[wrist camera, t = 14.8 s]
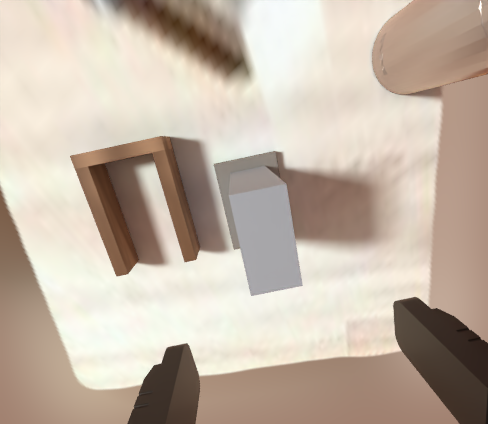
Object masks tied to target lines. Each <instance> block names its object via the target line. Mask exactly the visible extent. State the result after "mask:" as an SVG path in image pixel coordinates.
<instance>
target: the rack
mask: <svg viewBox="0 0 488 424" xmlns="http://www.w3.org/2000/svg"><path fill="white" fill-rule="evenodd" d="M150 153H152V155H153V158H154V161H155V165H156V168H157V171H158V175H159V178H160V181H161V185H162V188H163V191H164V195H165V198H166V201H167V205H168V208H169V211H170V215H171V218H172V221H173V225H174V228H175V231H176V235H177V238H178V241H179V245H180V248H181V251H182V255H183V258H184V261H185V262H188V261H193V260H196V259H197V255H198V252H199V249H200V245H199V242H198V238H197V235H196V231H195V227H194V224H193V220H192V217H191V213H190V209H189V206H188V202H187V198H186V195H185V191H184V188H183V184H182V180H181V177H180V173H179V169H178V166H177V162H176V159H175V155H174V151H173V148H172V144H171V141H170V137H166V136H160V137H155V138H151V139H146V140H141V141H137V142H132V143H128V144H123V145H118V146H114V147H109V148H105V149H100V150H95V151H91V152H86V153H82V154H77V155H72V156H70V157H71V160H72V163H73V165H74V168H75V170H76V173H77V176H78V178H79V181H80V183H81V186H82V188H83V191H84V194H85V196H86V199H87V201H88V204H89V207H90V209H91V212H92V214H93V217H94V219H95V222H96V225H97V227H98V230H99V232H100V235H101V238H102V240H103V243H104V245H105V248H106V250H107V253H108V256H109V258H110V261H111V263H112V266H113V268H114V271H115V274H116V276H121V275H126V274H128V273H129V272H130V271H131V269H132V268H133V267H134V266H135V264H136V263H137V262H138V260H139V259H138V256H137V254H136V251H135V248H134V245H133V242H132V239H131V237H130V234H129V231H128V228H127V225H126V222H125V220H124V217H123V214H122V211H121V208H120V205H119V203H118V200H117V197H116V194H115V191H114V188H113V186H112V183H111V180H110V177H109V174H108V171H107V169H106V166H105V163H108V162H113V161H118V160H122V159H127V158H132V157H136V156H141V155H145V154H150Z"/></svg>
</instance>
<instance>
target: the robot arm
mask: <svg viewBox="0 0 488 424" xmlns="http://www.w3.org/2000/svg"><path fill="white" fill-rule="evenodd" d="M372 64H373V70H374V72H375V75H376V78H377V79H378V81H379V82H380V84H381V85H382V86H384V87H385V88H386V89H387V90H389V91H391V92H393V93H397V94H411V93H415V92H419V91H423V90H427V89H431V88H435V87H439V86H443V85H447V84H451V83H455V82H458V81H463V80H466V79H470V78H474V77H478V76H482V75H486V74H488V0H413V1H412V2H411V3H409V4H408V5H407V6H406V7H404V8H403V9H402V10H400V11H399V12H398V13H397V14H395V15H394V16H393V17H391V18H390V19H389V20H388V21H387V22H386V23H385V25H384V26H383V27H382V29H381V30H380V32H379V33H378V35H377V38H376V40H375V43H374V47H373V52H372ZM393 307H394V324H395V336H396V340H397V342H398V345H399V347H400V348H401V350H402V352H403V353H404V354H405V355H406V357H407V358H408V359H409V360H410V362H411V363H412V364H413V366H414V367H415V368H416V369H417V371H418V372H419V373H420V374H421V376H422V377H423V378H424V379H425V381H426V382H427V383H428V384H429V386H430V387H431V388H432V389H433V391H434V392H435V393H436V394H437V396H438V397H439V398H440V399H441V401H442V402H443V403H444V405H445V406H446V407H447V408H448V410H449V411H450V412H451V413H452V415H453V416H454V417H455V418H456V420H457V421H458V422H459V423H460V424H488V343H487V342H485V341H484V340H481V338H480V337H479V336H478V335H477V334H475V333H474V332H473V331H472V330H469V329H468V327H467V326H465V325H464V324H463V323H462V322H460V321H459V320H458V319H457V318H455V317H454V316H452V315H450V314H448V313H446V312H444V311H442V310H439V309H437V308H436V309H430V308H429V307H428V306H427V305H426V304H425V303H424V302H423V301H421V300H420V299H419V298H417V297H413V298H408V299H403V300H398V301H395V302H394V305H393ZM199 393H200V381H199V374H198V371H197V368H196V365H195V362H194V359H193V356H192V353H191V350H190V347H189V345H188V344H187V343H186V344H181V345H176V346H171V347H168V348H167V349H166V351H165V354H164V357H163V360H162V363H161V364H158V365H154V366H153V368H152V369H151V370H150V372H149V373H148V374H147V376H146V377H145V379H144V381H143V384H142V387H141V389H140V392H139V396H138V397H137V400H136V402H135V405H134V409H133V411H132V413H131V416H130V418H129V421H128V424H195V422H196V415H197V408H198V401H199Z"/></svg>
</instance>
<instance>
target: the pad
mask: <svg viewBox="0 0 488 424" xmlns="http://www.w3.org/2000/svg"><path fill="white" fill-rule="evenodd" d="M261 166H266V167H267V168H268V169H269V170H270V171H272V172H273V173H274V174H275V175H276V176H278V177H279V178H280V175H279V170H278V164H277V158H276V152H275V151H273V152H268V153H264V154H259V155H254V156H250V157H245V158H240V159H236V160H231V161H226V162H222V163H217V164H214V167H215V172H216V176H217V180H218V184H219V189H220V193H221V197H222V201H223V205H224V210H225V214H226V218H227V222H228V226H229V231H230V235H231V239H232V243H233V248H234V250H235V249H239V248H240V244H239V240H238V235H237V231H236V226H235V222H234V217H233V213H232V208H231V204H230V199H229V185H230V173H232V172H237V171H242V170H247V169H252V168H256V167H261Z"/></svg>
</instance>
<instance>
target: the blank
mask: <svg viewBox="0 0 488 424" xmlns="http://www.w3.org/2000/svg"><path fill="white" fill-rule="evenodd" d="M229 199H230V204H231V208H232V213H233V217H234V222H235V226H236V231H237V235H238V240H239V244H240V249H241V253H242V258H243V262H244V266H245V271H246V275H247V280H248V284H249V289H250V293H251V296H254V295H259V294H264V293H269V292H274V291H278V290H283V289H288V288H293V287H298V286H303V285H302V279H301V273H300V266H299V260H298V254H297V247H296V241H295V235H294V228H293V222H292V216H291V209H290V203H289V197H288V190H287V184H286V183H285V182H284V181H283V180H281V179H280V178H279V177H278V176H276V175H275V174H274V173H273V172H272V171H270V170H269V169H268V168H267V167H266V166H261V167H256V168H252V169H247V170H242V171H237V172H232V173H230V185H229Z"/></svg>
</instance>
